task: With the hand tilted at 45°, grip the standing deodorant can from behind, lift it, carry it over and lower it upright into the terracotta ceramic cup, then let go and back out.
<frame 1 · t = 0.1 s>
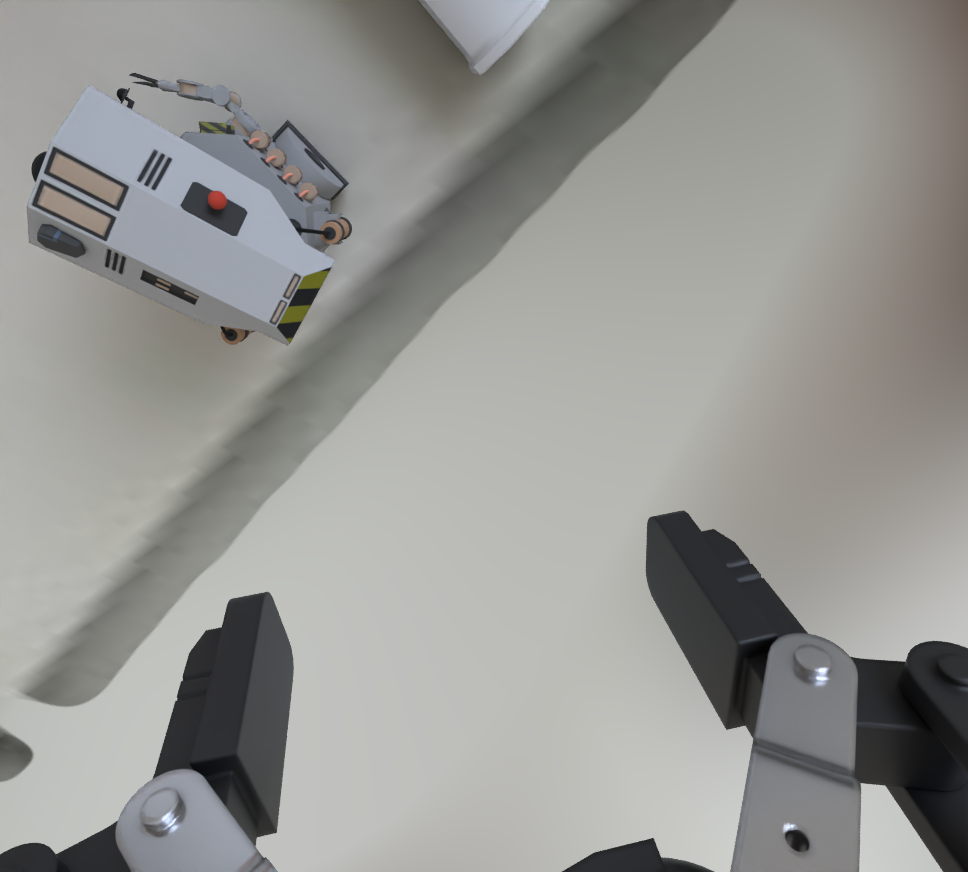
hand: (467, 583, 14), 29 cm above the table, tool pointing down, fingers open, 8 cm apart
figurine: (234, 180, 35), on the table
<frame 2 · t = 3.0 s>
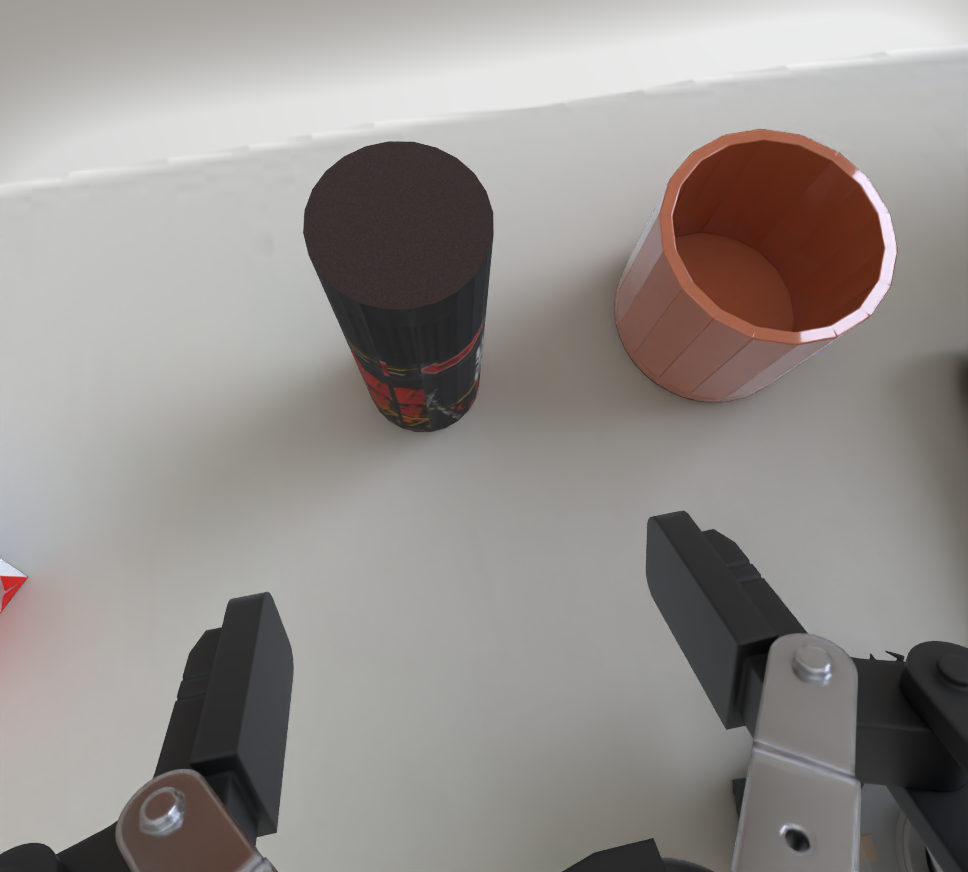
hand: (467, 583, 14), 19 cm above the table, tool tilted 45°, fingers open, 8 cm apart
cup: (705, 314, 36), on the table
figurine: (813, 765, 31), on the table
deodorant: (424, 380, 35), on the table
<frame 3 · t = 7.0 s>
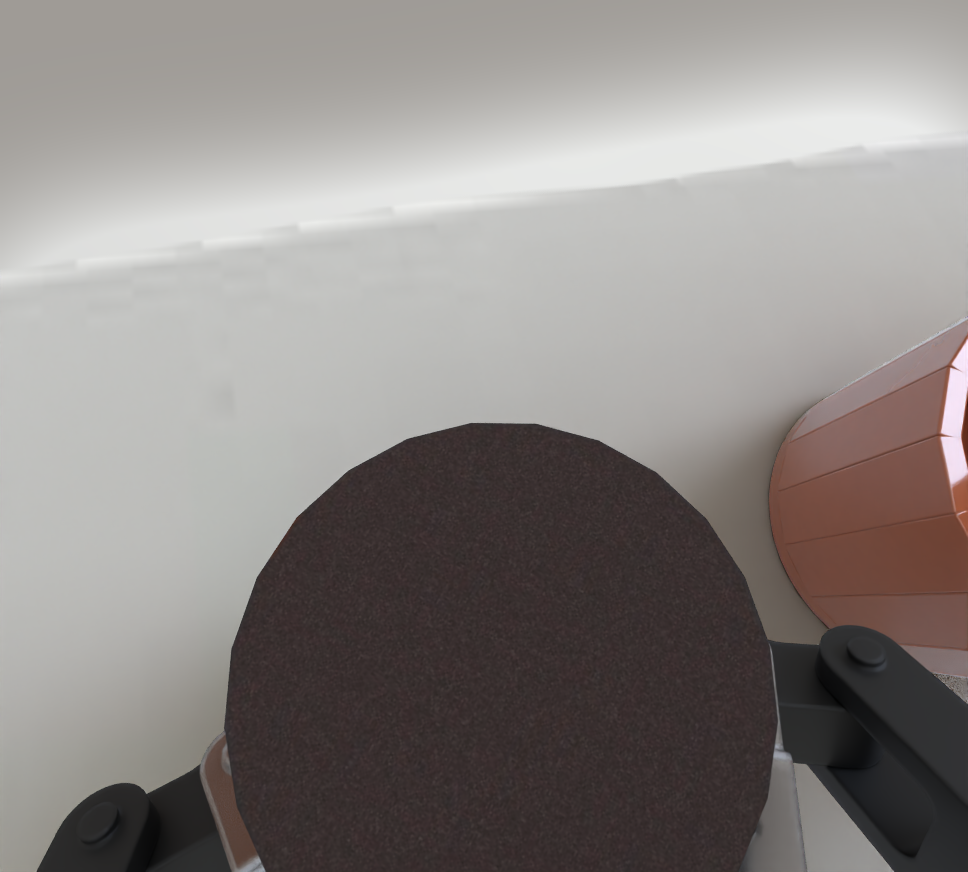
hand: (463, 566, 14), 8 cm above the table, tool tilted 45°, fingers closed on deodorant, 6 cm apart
cup: (910, 518, 23), on the table
deodorant: (470, 631, 22), on the table, touching gripper
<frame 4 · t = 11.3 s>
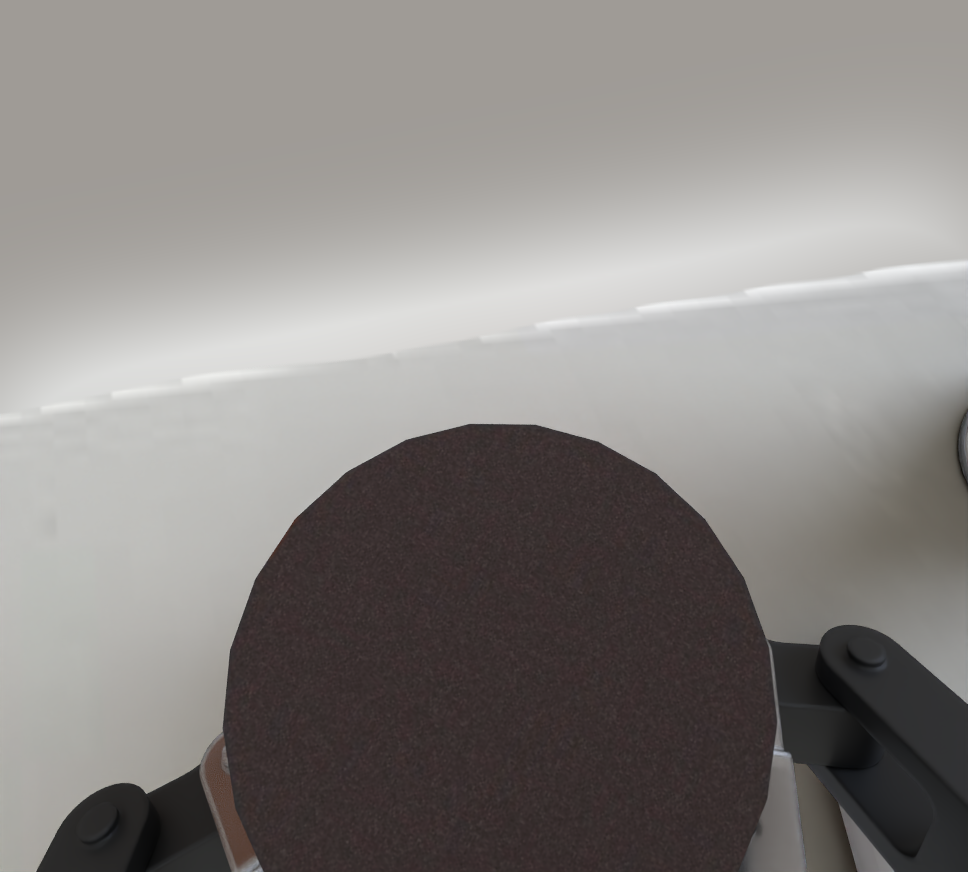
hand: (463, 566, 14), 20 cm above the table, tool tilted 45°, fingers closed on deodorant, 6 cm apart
deodorant: (470, 632, 22), point 12 cm above the table, touching gripper
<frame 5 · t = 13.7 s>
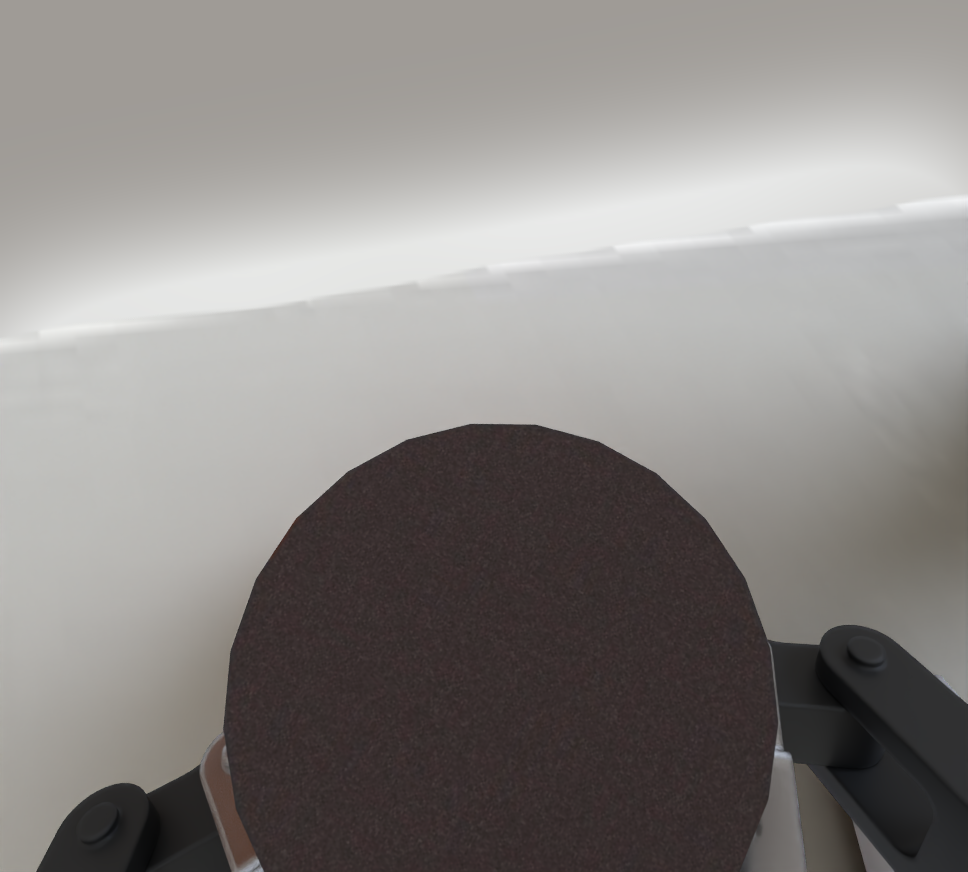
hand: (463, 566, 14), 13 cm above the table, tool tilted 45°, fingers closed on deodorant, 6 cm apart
deodorant: (470, 632, 22), point 4 cm above the table, touching gripper
when the fingers open (9 cm above the table, at t = 15.5 s): deodorant stays where it is, resting on cup.
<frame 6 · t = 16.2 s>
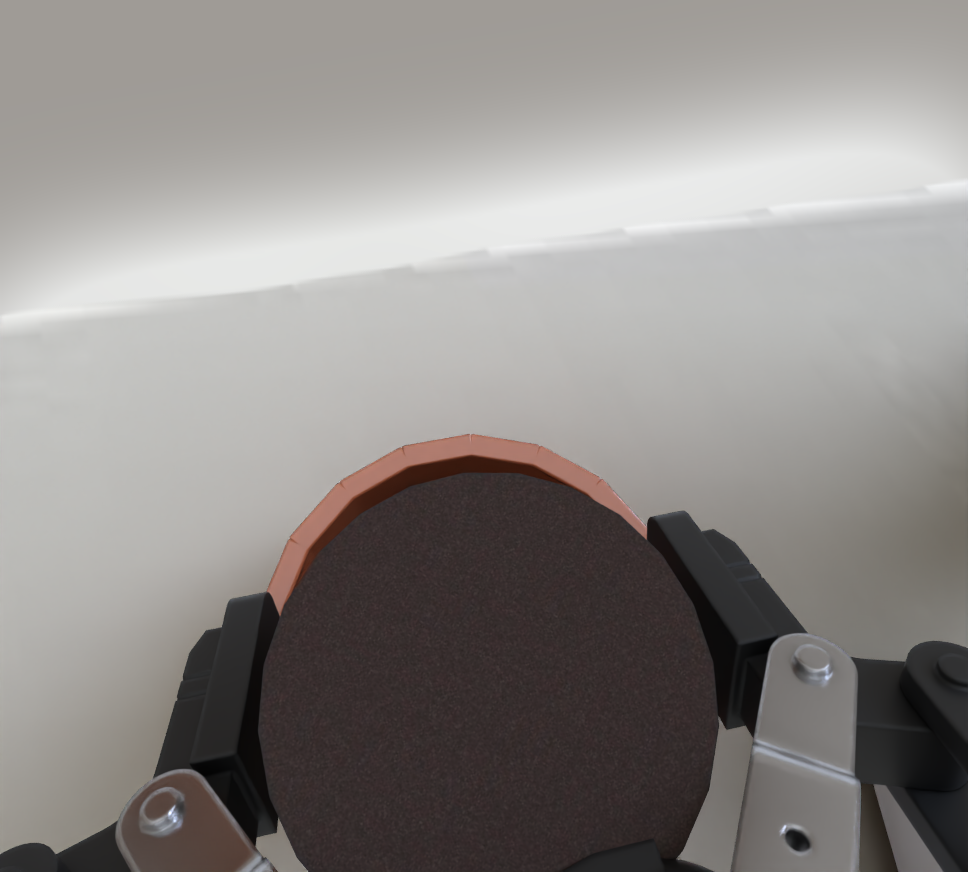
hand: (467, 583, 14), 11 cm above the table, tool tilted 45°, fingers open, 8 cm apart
cup: (467, 632, 24), on the table
deodorant: (467, 639, 23), point 1 cm above the table, touching cup
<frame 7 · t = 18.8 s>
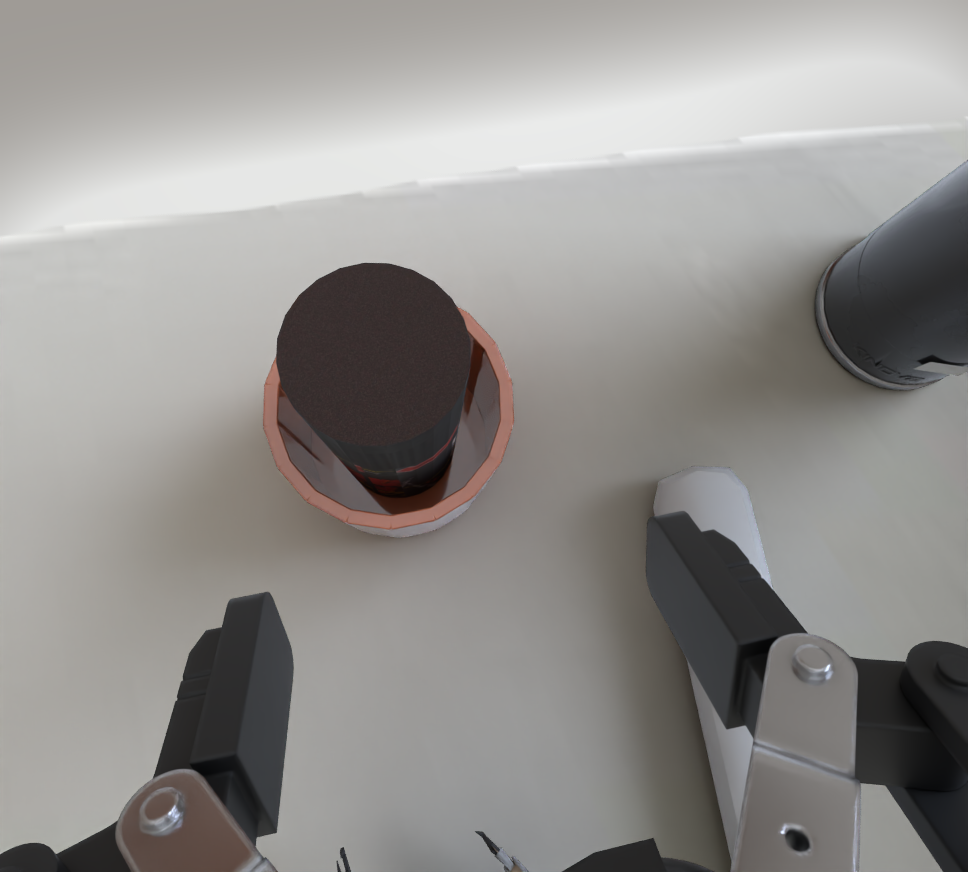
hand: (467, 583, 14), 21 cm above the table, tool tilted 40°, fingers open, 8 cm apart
tube: (726, 703, 34), on the table
cup: (400, 441, 35), on the table
deodorant: (399, 443, 34), point 1 cm above the table, touching cup
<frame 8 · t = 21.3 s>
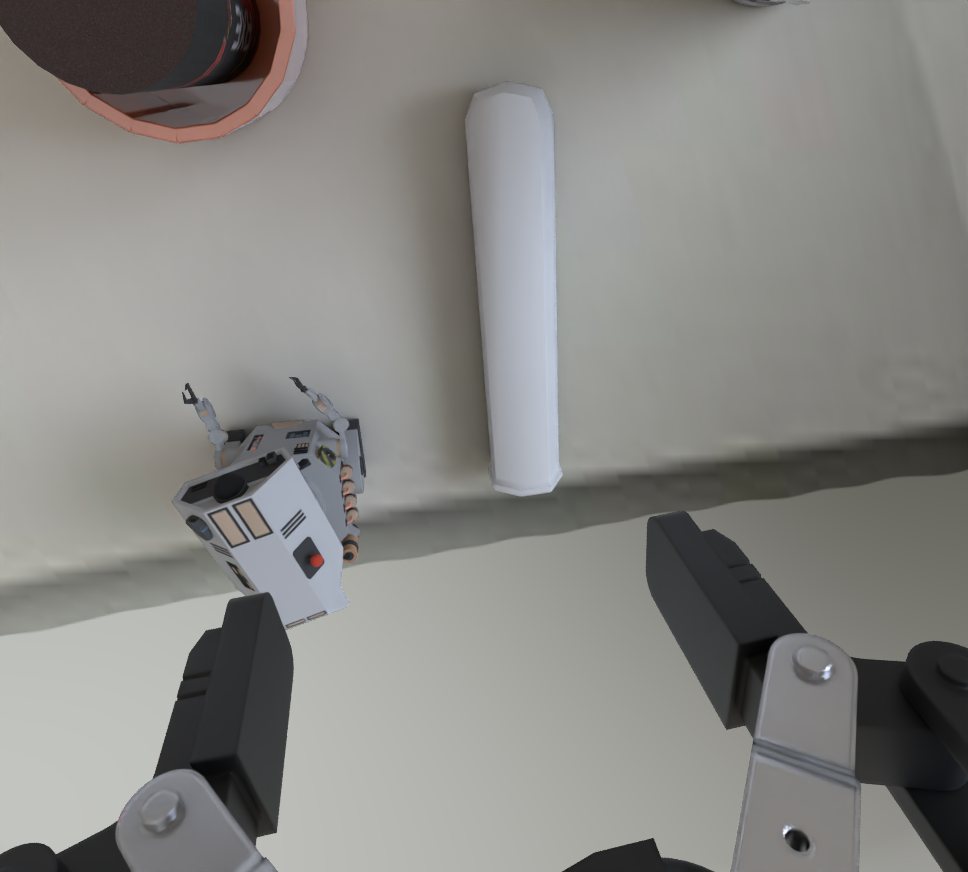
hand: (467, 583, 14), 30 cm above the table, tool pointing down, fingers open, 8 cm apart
tube: (508, 296, 42), on the table
cup: (200, 11, 32), on the table
figurine: (292, 421, 44), on the table
deodorant: (198, 16, 32), point 1 cm above the table, touching cup
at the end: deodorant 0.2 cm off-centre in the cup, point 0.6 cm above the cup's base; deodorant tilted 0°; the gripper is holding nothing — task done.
